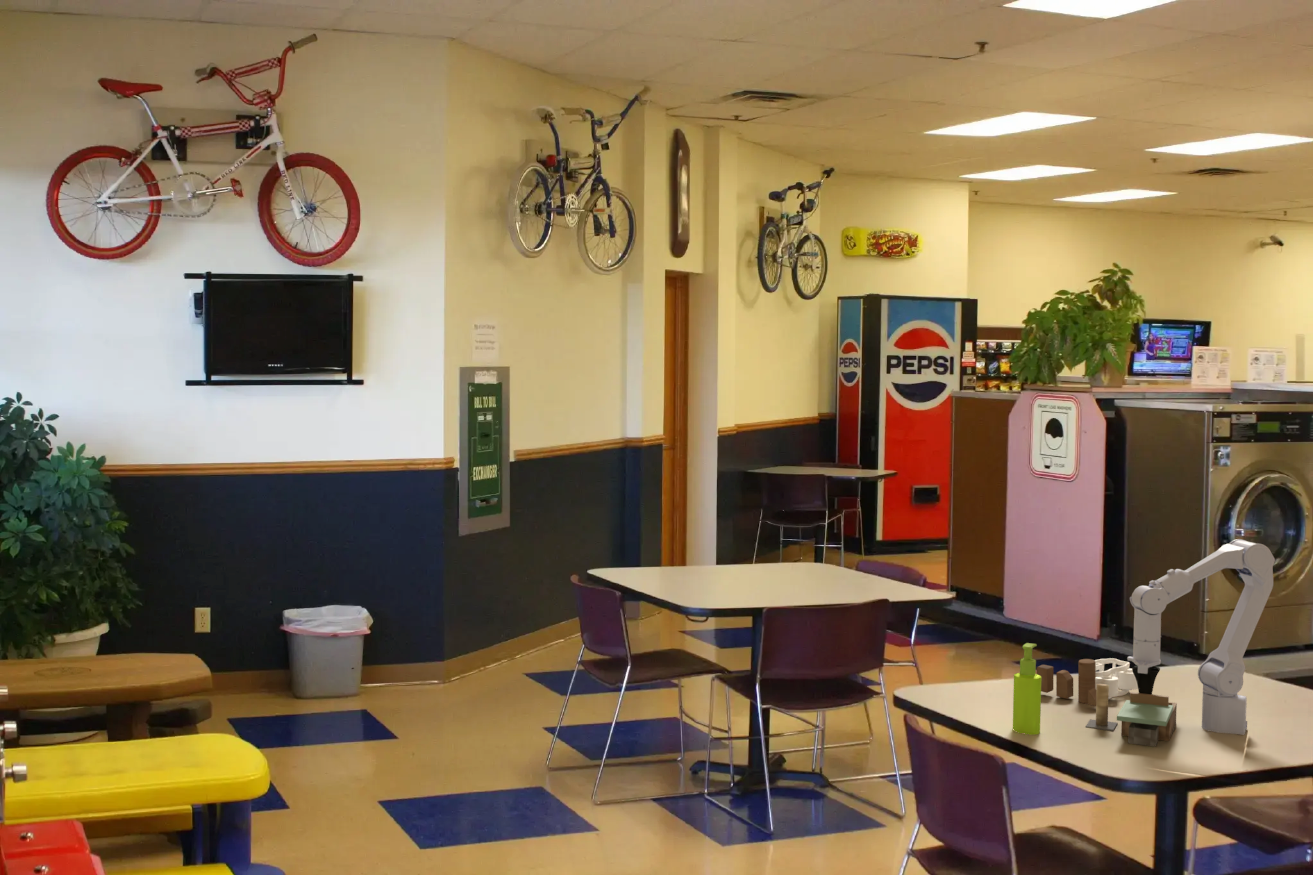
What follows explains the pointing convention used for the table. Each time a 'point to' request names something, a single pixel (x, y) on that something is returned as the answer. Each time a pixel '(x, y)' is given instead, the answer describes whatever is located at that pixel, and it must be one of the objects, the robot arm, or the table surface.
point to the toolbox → (1149, 730)
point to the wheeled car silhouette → (1115, 677)
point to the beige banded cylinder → (1102, 704)
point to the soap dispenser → (1027, 695)
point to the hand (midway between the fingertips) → (1145, 699)
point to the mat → (1109, 727)
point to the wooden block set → (1071, 681)
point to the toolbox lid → (1146, 709)
